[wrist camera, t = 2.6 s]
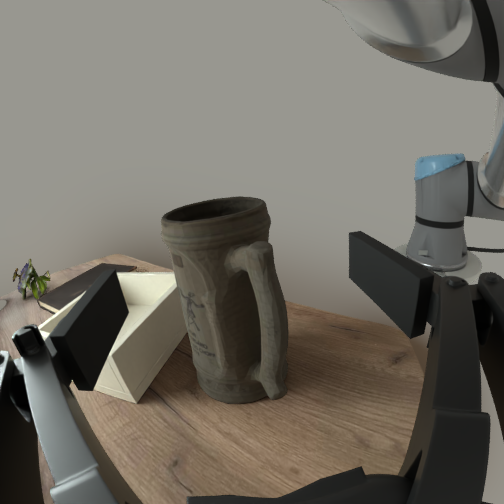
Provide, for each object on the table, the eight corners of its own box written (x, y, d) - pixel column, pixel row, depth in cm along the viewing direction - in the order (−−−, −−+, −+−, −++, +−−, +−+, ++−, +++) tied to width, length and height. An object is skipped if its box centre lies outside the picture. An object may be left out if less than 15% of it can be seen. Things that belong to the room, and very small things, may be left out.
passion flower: (32, 315, 61) (11, 283, 60) (58, 294, 69) (37, 263, 68) (28, 304, 53) (5, 268, 52) (57, 280, 61) (34, 246, 60)
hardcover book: (139, 274, 67) (136, 266, 66) (67, 320, 47) (63, 310, 46) (103, 270, 73) (100, 263, 72) (39, 307, 54) (36, 298, 53)
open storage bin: (201, 312, 47) (191, 271, 44) (136, 404, 27) (111, 355, 25) (123, 307, 51) (112, 272, 48) (53, 373, 32) (31, 332, 29)
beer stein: (180, 366, 34) (139, 212, 26) (246, 332, 40) (230, 189, 32) (256, 447, 22) (226, 253, 15) (331, 389, 28) (347, 209, 20)
